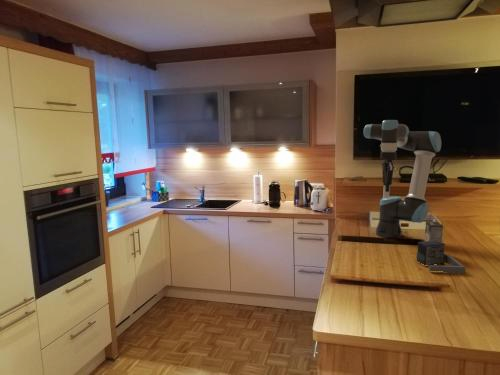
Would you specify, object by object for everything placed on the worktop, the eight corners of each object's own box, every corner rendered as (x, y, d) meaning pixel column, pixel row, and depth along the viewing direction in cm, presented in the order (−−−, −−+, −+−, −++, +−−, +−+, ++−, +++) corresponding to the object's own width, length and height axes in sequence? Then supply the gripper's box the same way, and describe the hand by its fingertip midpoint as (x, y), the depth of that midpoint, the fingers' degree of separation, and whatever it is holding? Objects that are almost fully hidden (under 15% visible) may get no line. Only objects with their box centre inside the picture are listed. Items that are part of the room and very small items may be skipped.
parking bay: (416, 258, 188) (416, 253, 187) (447, 259, 186) (448, 253, 186) (430, 272, 170) (430, 266, 169) (465, 273, 169) (465, 267, 168)
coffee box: (423, 250, 201) (425, 220, 198) (436, 251, 199) (438, 221, 197) (427, 256, 192) (430, 225, 189) (441, 256, 191) (443, 226, 188)
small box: (434, 260, 186) (436, 239, 184) (444, 264, 180) (445, 243, 178) (415, 262, 183) (417, 241, 182) (425, 266, 177) (426, 245, 176)
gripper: (377, 150, 195) (375, 195, 199) (384, 152, 182) (381, 200, 186) (392, 150, 194) (390, 195, 198) (400, 152, 182) (397, 200, 185)
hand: (386, 197), depth 192 cm, fingers closed
